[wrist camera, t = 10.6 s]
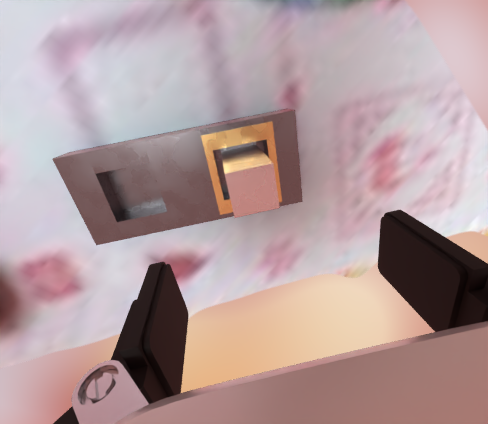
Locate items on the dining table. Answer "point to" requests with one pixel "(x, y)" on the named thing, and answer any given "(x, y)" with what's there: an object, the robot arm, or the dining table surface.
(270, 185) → the steel peg
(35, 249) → the dining table surface
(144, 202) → the hole rail
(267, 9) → the dining table surface
